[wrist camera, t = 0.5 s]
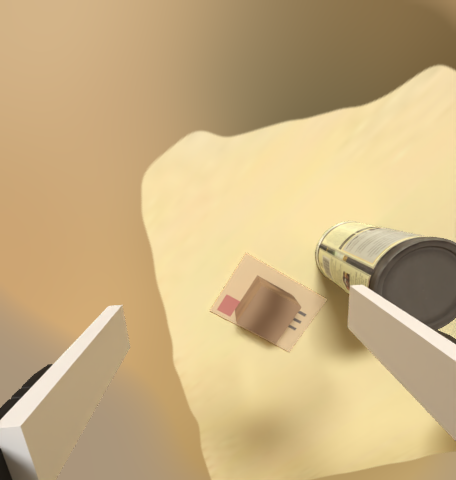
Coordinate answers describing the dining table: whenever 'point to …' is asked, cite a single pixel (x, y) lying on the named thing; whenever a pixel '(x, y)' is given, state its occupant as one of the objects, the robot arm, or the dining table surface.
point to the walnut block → (266, 309)
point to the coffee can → (393, 268)
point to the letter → (302, 294)
